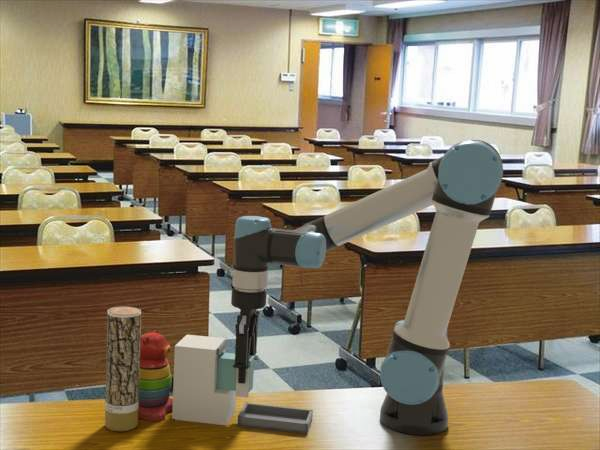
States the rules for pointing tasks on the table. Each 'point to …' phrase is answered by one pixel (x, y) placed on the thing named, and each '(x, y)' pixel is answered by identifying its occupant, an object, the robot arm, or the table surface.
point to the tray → (275, 418)
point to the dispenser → (200, 382)
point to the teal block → (230, 372)
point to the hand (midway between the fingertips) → (244, 392)
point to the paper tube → (122, 368)
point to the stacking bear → (154, 378)
